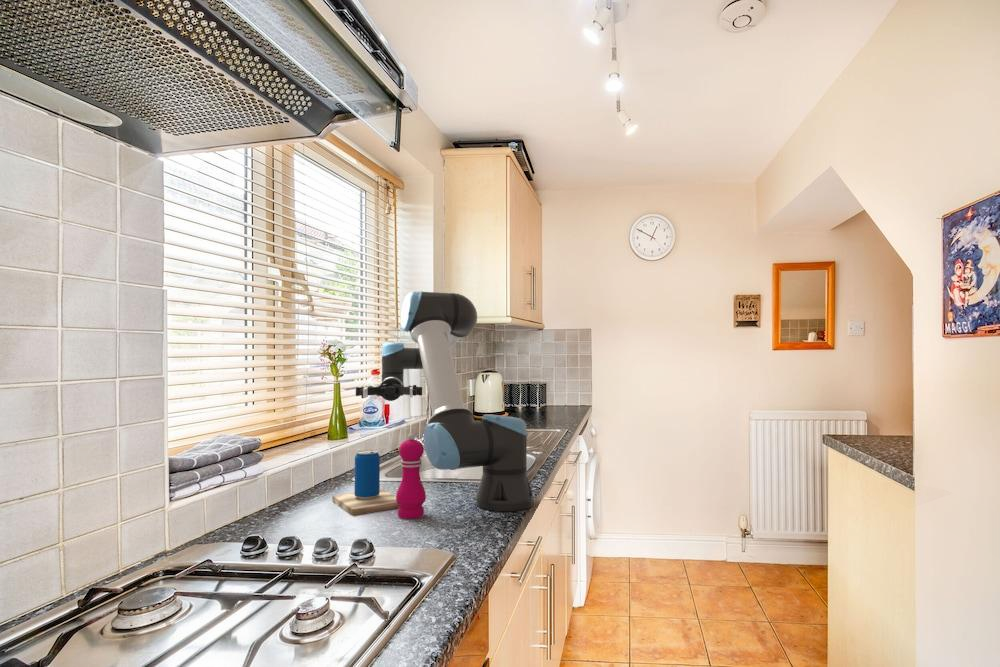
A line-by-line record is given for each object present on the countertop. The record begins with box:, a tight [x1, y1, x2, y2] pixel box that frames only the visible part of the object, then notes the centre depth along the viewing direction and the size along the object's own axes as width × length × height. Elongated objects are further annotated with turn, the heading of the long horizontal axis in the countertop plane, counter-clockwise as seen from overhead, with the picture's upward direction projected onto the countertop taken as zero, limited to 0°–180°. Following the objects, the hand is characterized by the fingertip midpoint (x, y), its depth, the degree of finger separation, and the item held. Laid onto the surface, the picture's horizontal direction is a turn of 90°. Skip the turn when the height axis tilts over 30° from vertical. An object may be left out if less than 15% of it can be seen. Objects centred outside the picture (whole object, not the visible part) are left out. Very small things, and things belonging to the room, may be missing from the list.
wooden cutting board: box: [332, 488, 400, 516], centre depth 147 cm, size 16×14×2 cm
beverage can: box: [354, 449, 381, 500], centre depth 148 cm, size 6×6×12 cm
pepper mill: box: [395, 433, 427, 520], centre depth 137 cm, size 7×7×20 cm
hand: (387, 393), depth 165 cm, fingers open, 13 cm apart
